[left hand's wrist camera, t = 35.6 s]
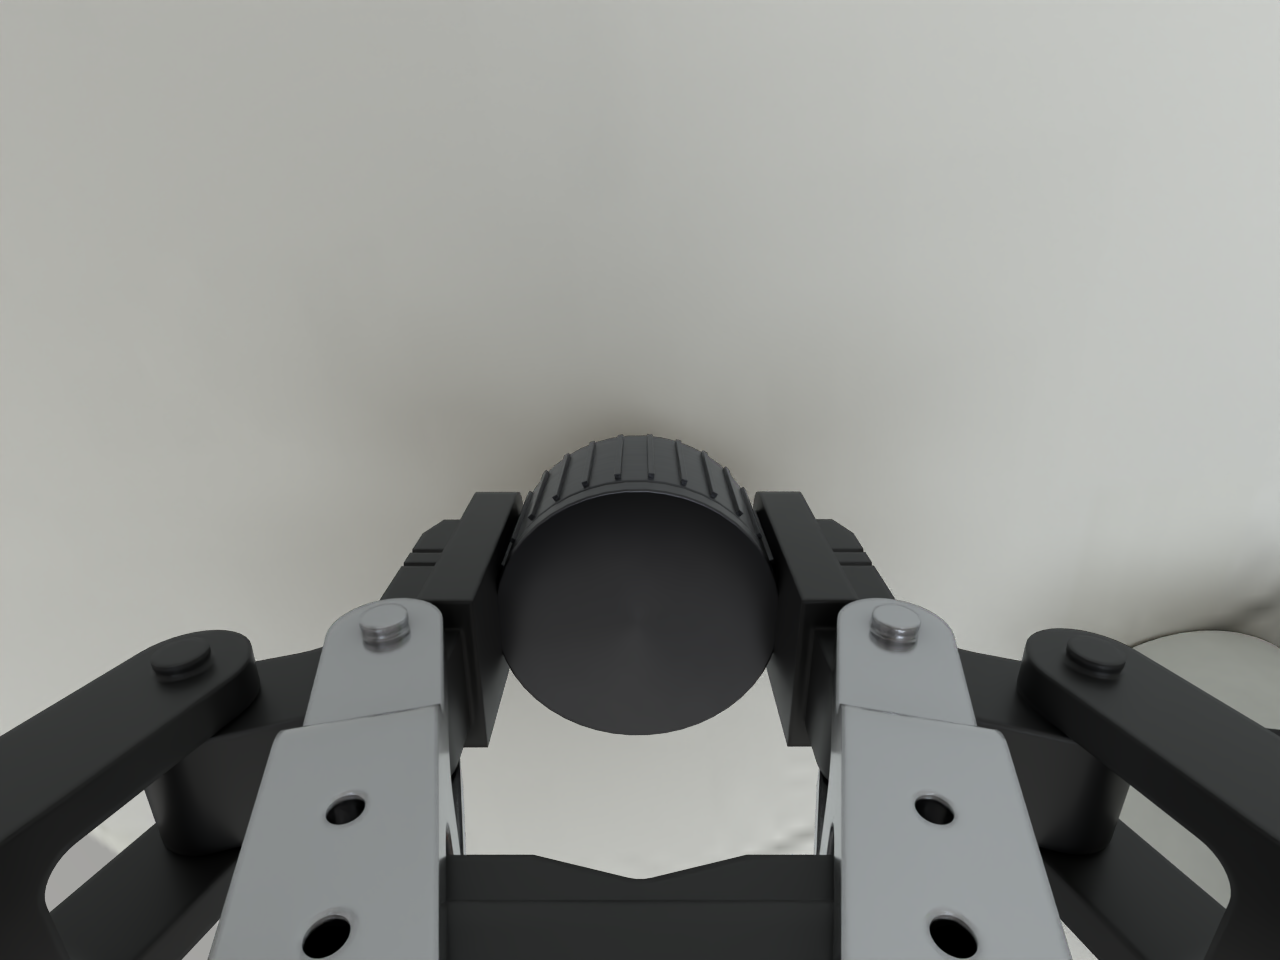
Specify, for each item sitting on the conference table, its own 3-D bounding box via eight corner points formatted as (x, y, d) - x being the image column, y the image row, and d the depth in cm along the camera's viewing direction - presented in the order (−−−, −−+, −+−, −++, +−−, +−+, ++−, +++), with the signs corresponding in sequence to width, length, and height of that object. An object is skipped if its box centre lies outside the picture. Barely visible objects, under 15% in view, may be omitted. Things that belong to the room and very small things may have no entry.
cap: (469, 498, 12) (431, 565, 10) (696, 387, 11) (709, 433, 9) (588, 680, 13) (578, 775, 11) (796, 593, 12) (829, 675, 10)
